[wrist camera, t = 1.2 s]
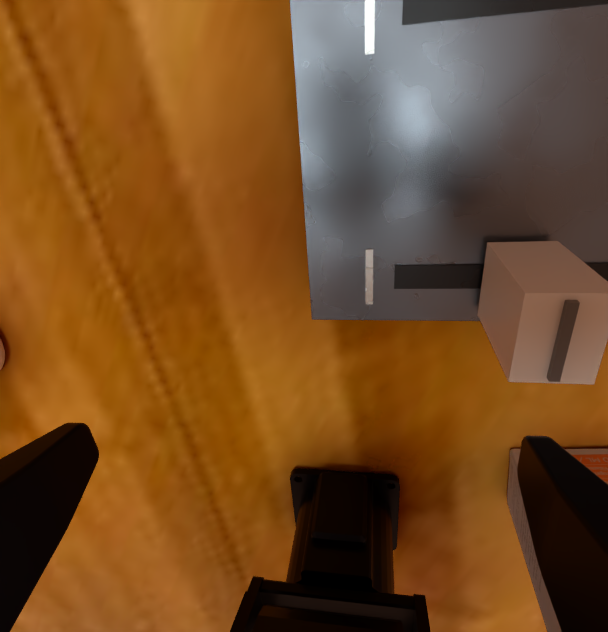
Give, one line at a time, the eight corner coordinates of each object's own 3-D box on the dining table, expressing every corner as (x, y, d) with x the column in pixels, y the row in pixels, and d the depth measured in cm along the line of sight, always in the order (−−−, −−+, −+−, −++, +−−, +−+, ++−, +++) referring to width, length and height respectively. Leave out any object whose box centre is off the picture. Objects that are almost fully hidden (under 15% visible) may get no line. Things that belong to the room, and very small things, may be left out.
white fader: (542, 314, 17) (597, 388, 12) (477, 314, 17) (510, 386, 13) (557, 240, 15) (625, 296, 11) (487, 242, 16) (527, 296, 11)
